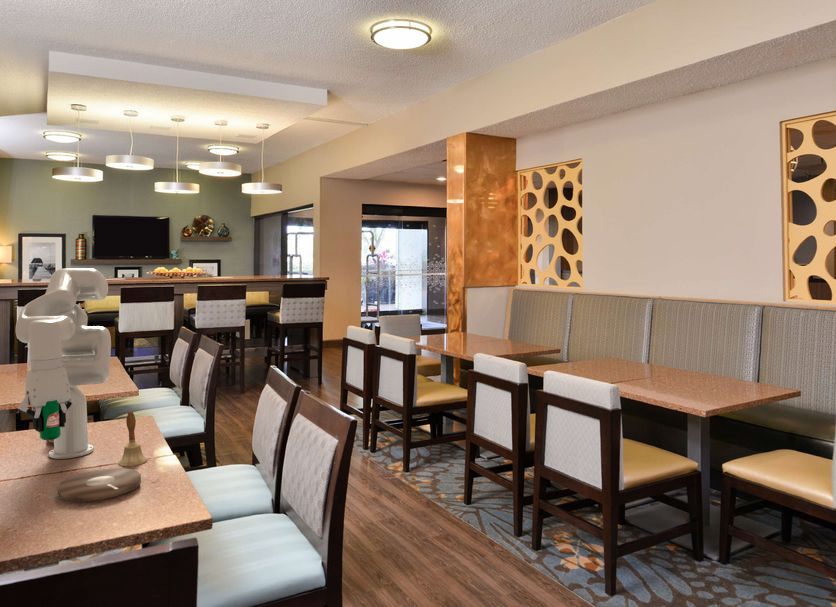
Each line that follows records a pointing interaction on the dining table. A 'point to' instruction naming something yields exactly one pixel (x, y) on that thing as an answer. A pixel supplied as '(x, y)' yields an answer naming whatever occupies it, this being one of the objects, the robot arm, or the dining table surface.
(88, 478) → the turntable
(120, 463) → the hand bell
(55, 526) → the dining table surface
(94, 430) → the dining table surface
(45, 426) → the soda can
